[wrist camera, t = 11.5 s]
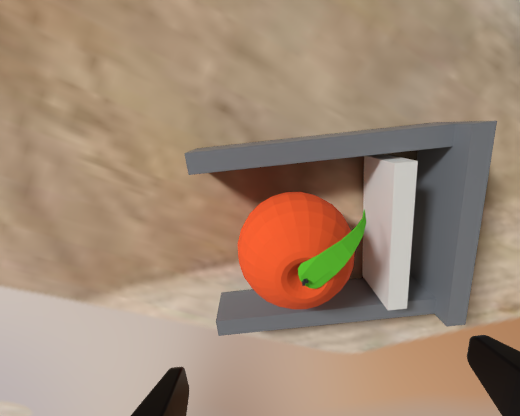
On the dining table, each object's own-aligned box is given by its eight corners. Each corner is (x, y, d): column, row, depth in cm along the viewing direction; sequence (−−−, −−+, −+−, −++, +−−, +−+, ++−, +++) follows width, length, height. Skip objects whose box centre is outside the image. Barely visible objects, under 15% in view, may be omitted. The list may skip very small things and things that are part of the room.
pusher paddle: (382, 153, 18) (417, 161, 14) (378, 274, 20) (406, 308, 16) (364, 155, 18) (394, 163, 14) (362, 275, 20) (387, 310, 16)
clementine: (310, 150, 18) (345, 166, 11) (365, 224, 19) (425, 279, 13) (220, 221, 19) (202, 275, 12) (279, 284, 21) (291, 362, 14)
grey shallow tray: (437, 122, 17) (497, 120, 13) (423, 284, 21) (465, 324, 17) (196, 148, 17) (178, 155, 13) (223, 305, 21) (216, 349, 17)
